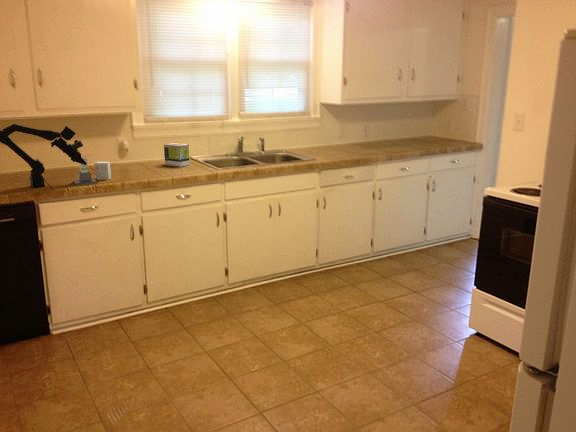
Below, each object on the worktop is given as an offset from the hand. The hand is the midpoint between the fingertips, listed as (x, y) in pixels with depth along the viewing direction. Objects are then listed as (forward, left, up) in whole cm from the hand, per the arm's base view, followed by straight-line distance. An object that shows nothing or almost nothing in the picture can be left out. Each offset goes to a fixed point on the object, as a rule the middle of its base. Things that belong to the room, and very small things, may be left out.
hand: (86, 163), depth 319 cm
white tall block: (-1, +1, -6) cm, 6 cm away
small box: (+12, +2, -12) cm, 17 cm away
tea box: (+72, +4, -12) cm, 73 cm away
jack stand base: (-1, +1, -11) cm, 11 cm away
